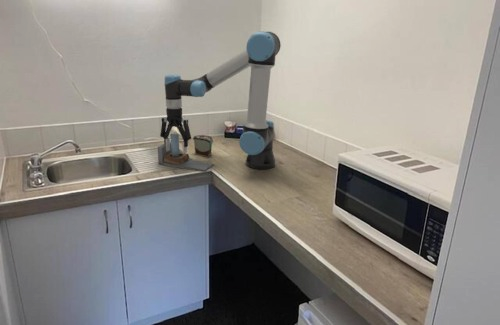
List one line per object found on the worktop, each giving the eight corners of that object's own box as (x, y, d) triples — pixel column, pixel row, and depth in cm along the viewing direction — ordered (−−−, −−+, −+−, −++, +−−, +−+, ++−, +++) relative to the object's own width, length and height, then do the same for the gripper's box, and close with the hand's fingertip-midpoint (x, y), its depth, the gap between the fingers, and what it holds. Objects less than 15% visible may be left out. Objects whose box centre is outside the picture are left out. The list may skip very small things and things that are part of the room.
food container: (217, 155, 207) (217, 137, 204) (211, 157, 202) (210, 139, 199) (200, 150, 213) (200, 133, 210) (193, 153, 208) (192, 136, 205)
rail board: (169, 158, 199) (168, 141, 196) (213, 165, 191) (213, 148, 188) (158, 164, 190) (157, 147, 187) (204, 171, 182) (204, 154, 179)
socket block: (173, 157, 197) (173, 151, 196) (188, 159, 194) (188, 153, 194) (164, 162, 189) (163, 156, 188) (179, 164, 187) (179, 159, 186)
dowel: (174, 159, 195) (173, 133, 190) (181, 160, 193) (180, 133, 189) (170, 161, 191) (168, 134, 187) (177, 162, 190) (175, 135, 185)
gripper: (150, 107, 183) (153, 151, 191) (190, 110, 176) (191, 156, 183) (159, 104, 190) (162, 147, 197) (197, 107, 183) (199, 152, 190)
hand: (176, 151), depth 190 cm, fingers open, 9 cm apart
